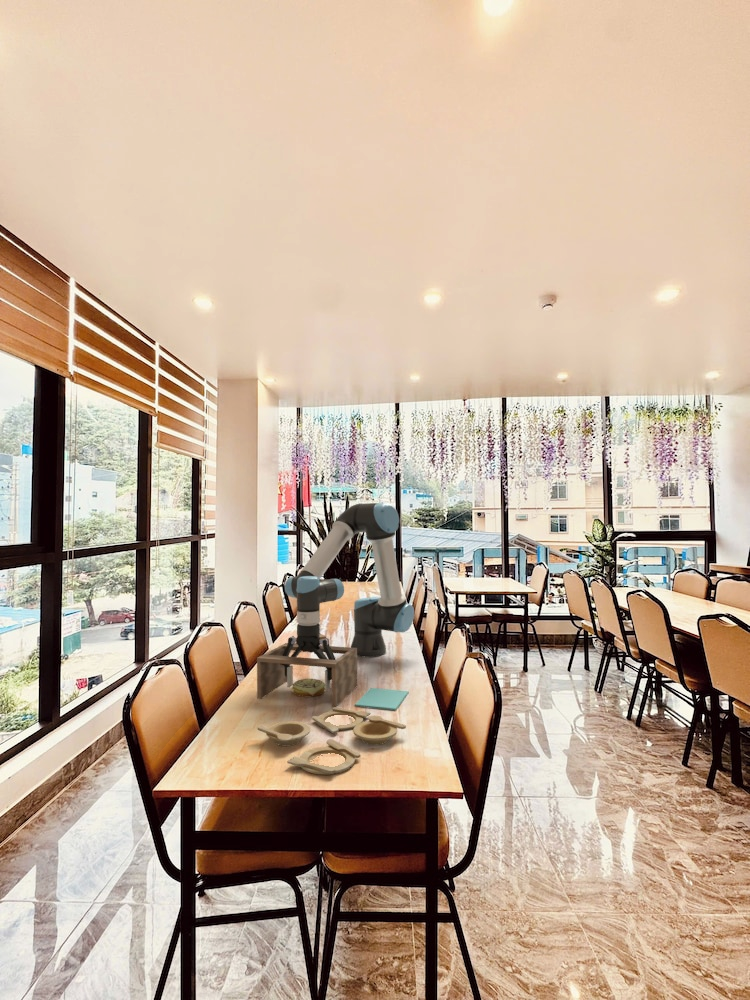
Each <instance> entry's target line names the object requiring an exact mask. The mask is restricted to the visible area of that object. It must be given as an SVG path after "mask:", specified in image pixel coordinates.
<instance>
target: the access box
mask: <svg viewBox="0 0 750 1000" xmlns="http://www.w3.org/2000/svg"><path fill="white" fill-rule="evenodd" d="M287 645H288V642H285V643H283V644H281V645H279V646H277V647H275V648H273V649H272V650H270V651H267V652H266V653H264V654H262V655H259V656H258V657H256V666H257V667H256V692H257V693H256V698H257V699H258V700H261V699H263V698H264V697H266V696H267V695H269V694H271V693H272V692H273V691H275V690H276V689H278V688H279V687H281V686H282V685H284V684H285V683H287V676H285V666H284V665H280V664H279V663H281V664H291V665H292V666H293V665H294V666H307V667H320V668H326V667H330V668H332V680H331V707H332V706H336V705H337V704H338V705H339V704H340V703H341V702H343V699H344V698H345V697H346V696H347V695H348V694H349V693H350V692H351V691H352V690H353V689H354V688H355V687H356V686H357V687H358V656H357V648H351V646H350V647H346V646H332V645H331V646H330V648H331V650H332V652H333V654H341V656H339V657H338V658H337V659H336V658H335V659H336V660H329V659H328V658H327V659H328V660H327V659H319V658H312V657H300V656H297V657H291V656H290V655H289V656H282V655H283V653H284V651H285V649H286V647H287ZM297 647H298V644H297V643H294V645H293V647H292V649H291V651H295V650H296V649H297ZM319 647H320V648H321V649H322V652H323V653H325V650H324V648H323V646H322V645H319ZM357 687H356V688H357ZM356 688H355V689H356ZM355 689H354V690H355ZM354 690H353V691H354ZM353 691H352V692H353ZM352 692H351V693H352ZM351 693H350V694H351ZM350 694H349V695H350ZM349 695H348V696H349ZM348 696H347V697H348ZM347 697H346V698H347ZM346 698H345V699H346ZM345 699H344V700H345ZM338 705H337V706H338ZM337 706H336V707H337Z"/></svg>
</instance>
